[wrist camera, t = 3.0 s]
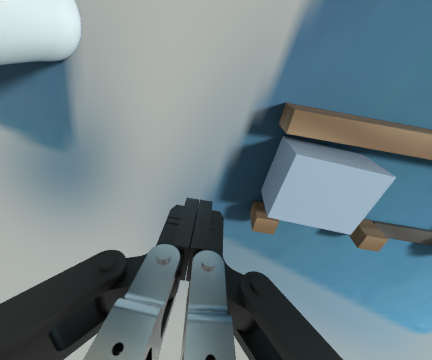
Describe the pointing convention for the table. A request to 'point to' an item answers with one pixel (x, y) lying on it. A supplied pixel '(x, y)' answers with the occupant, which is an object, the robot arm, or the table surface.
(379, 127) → the lane
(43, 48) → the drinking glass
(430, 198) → the table surface
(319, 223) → the brick
